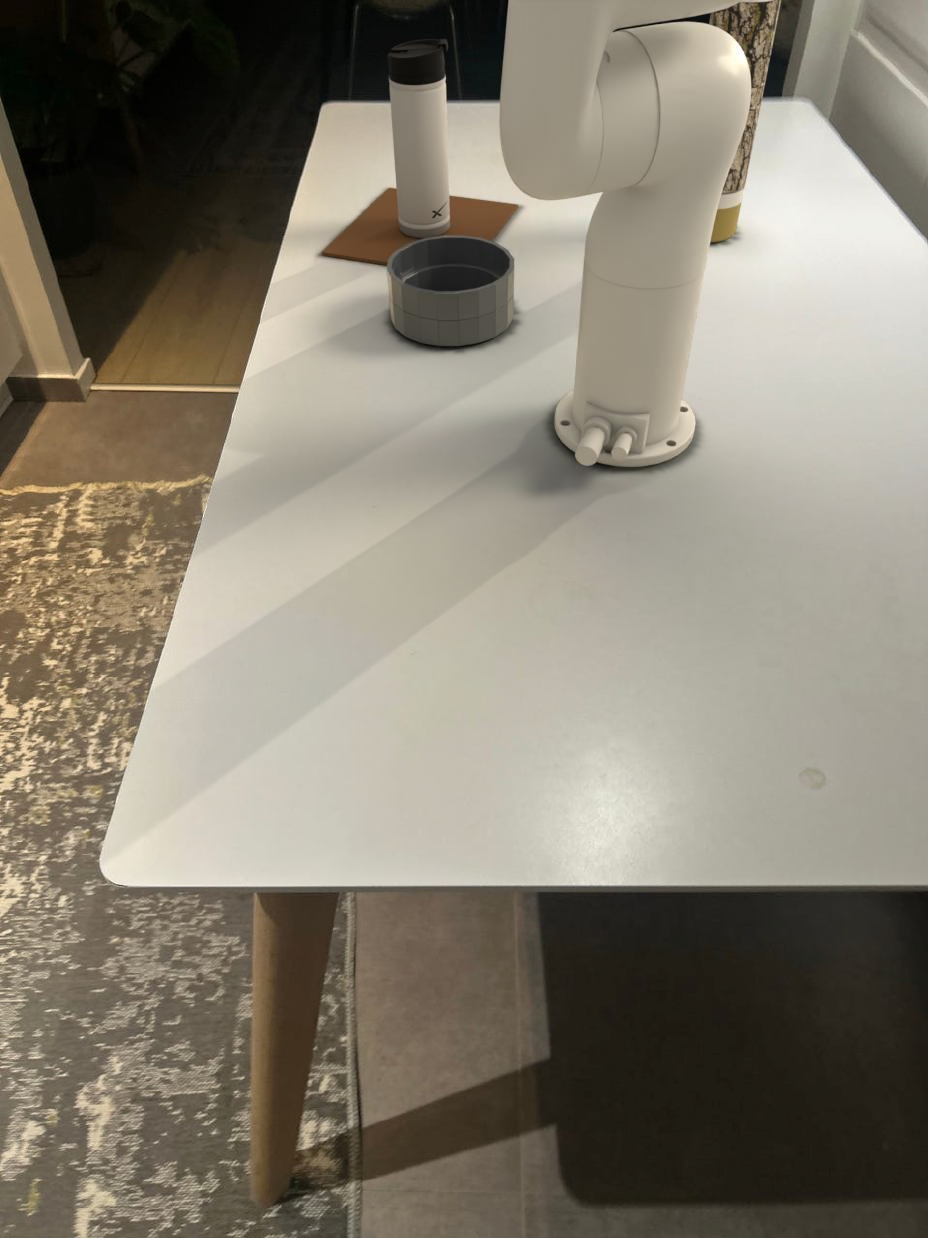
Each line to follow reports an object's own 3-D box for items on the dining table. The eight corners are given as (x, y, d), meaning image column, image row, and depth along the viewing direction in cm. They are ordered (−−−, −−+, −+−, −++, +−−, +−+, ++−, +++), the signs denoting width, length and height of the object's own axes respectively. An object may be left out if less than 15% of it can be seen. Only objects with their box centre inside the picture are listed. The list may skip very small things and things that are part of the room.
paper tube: (719, 249, 108) (766, -1, 90) (668, 235, 111) (703, -10, 93) (745, 229, 112) (794, -16, 94) (694, 215, 115) (733, -24, 97)
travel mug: (452, 238, 111) (446, 49, 96) (397, 239, 111) (384, 50, 96) (453, 216, 115) (448, 32, 101) (400, 217, 115) (388, 33, 101)
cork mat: (464, 277, 105) (464, 273, 104) (321, 255, 109) (321, 251, 109) (518, 207, 118) (518, 204, 117) (389, 190, 122) (388, 187, 122)
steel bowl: (489, 357, 93) (489, 301, 88) (372, 336, 96) (366, 281, 92) (528, 298, 101) (530, 244, 97) (419, 281, 104) (416, 228, 100)
